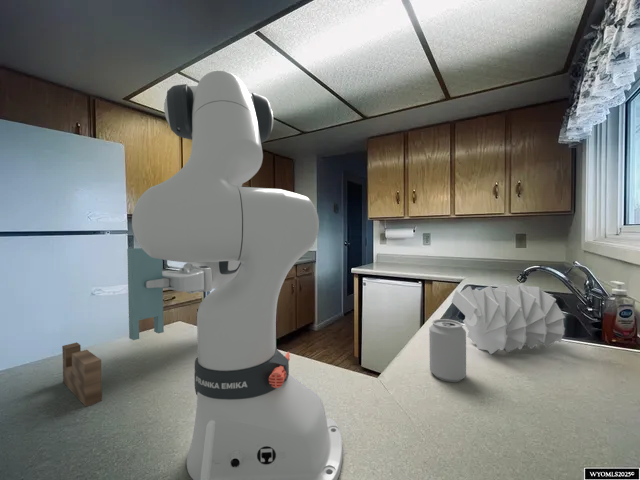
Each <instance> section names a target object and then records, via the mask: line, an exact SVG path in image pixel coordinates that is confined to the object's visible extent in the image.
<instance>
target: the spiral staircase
mask: <svg viewBox="0 0 640 480" xmlns="http://www.w3.org/2000/svg"><path fill="white" fill-rule="evenodd" d="M556 301H557V299H556V298H555V297H554V296H552V295H550V294H549V293H547V292H545V291H543V290H541V286H533V285H532V286H531V285H530V286H529V285H525V284H524V282H521V283H519V284H517V285H515V286H506V284H505V283H501V284H500V285H498V287H496V288H493V287H492V285H488V286H486V287H485V288H482V289H480V290H479V289H478V288H475V289H472V286H471V285H470V286H469V285H468V286H467V287H466V288H464V289H463V290H461V291H460V290H458V289H457V290H455V292H454V294H453V296H452V299H451V301H450V302H451V303H452V304H453V305H454V306H455V307H456V308H457V310H459V311H460V312H461V313H462V314H463V315H464V319H463V320H462V323H464V325H465V327H466V329H467V330H468V331H467V332H468V333H467V335H466V338H467V337H468V338H469V339H470V340H471V341H472V342H474V343H475V344H476V349H477V350H483V351H487V352H489V354H490V355H493V354H495V352H498V350H502V351H503V350H505V351H506V353H509V352H513V351H514V350H515V349H519V350H522V349H523V347H524V346H527V347H529V349H532V350H533V349H534V347H536V346H537V345H538V344H543V345H544V346H545V348H548V347H549V346H552V345H553V343H555V342H559V343H561V342H562V340H563V337H564V336H565V330H566V327H565V325H564V319H565V318H566V316H565V314H564V313H563V312H562V310H561V308H560V307H559V305H558V302H556Z"/></svg>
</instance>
